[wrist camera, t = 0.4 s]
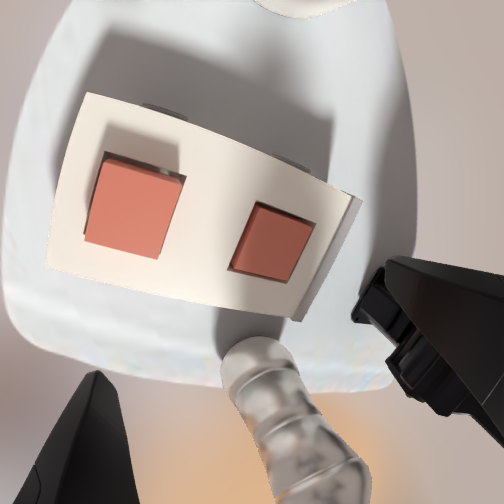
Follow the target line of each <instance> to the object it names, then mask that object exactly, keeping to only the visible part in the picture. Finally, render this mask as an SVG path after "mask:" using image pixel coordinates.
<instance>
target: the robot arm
mask: <svg viewBox="0 0 504 504" xmlns="http://www.w3.org/2000/svg"><path fill="white" fill-rule="evenodd" d="M351 320H352V321H353V322H354V323H362V324H372V325H374V326H375V327H376V328H377V329H378V330H379V331H380V332H381V333H382V334H383V335H384V336H385V337H386V338H387V339H388V340H389V341H390V342H391V343H392V344H393V345H394V346H395V347H397V348H396V349H395V350H394V352H393V353H392V354H391V355H390V357H388V358H387V359H386V360H385V362H386V364H387V365H388V368H389V370H390V371H391V373H392V374H393V376H394V377H395V378H396V380H397V381H398V383H399V384H400V386H401V387H402V389H403V390H404V392H405V394H406V396H407V397H409V398H414V399H416V400H417V401H420V402H422V403H423V402H426V403H427V404H428V405H429V406H430V407H431V408H432V409H433V410H434V411H435V413H436V414H438V415H441V416H445V417H448V416H450V415H451V414H457V415H468V416H471V417H472V418H473V419H475V420H476V421H477V422H478V423H479V424H480V425H481V426H482V427H483V428H484V429H485V430H486V431H487V432H488V433H489V434H490V435H491V436H492V437H493V438H494V439H495V440H496V441H497V442H498V443H499V444H500V445H501V446H502V447H503V448H504V276H503V275H499V274H493V273H488V272H483V271H478V270H473V269H468V268H463V267H458V266H452V265H447V264H442V263H437V262H431V261H425V260H421V259H415V258H410V257H404V256H394V257H392V258H390V259H388V260H387V262H386V266H385V267H381V268H380V269H379V270H378V272H377V274H376V276H375V277H374V279H373V281H372V283H371V285H370V287H369V288H368V290H367V292H366V294H365V295H364V297H363V299H362V301H361V302H360V304H359V306H358V307H357V309H356V311H355V312H354V314H353V316H352V318H351ZM13 504H140V502H139V498H138V493H137V489H136V485H135V480H134V475H133V469H132V464H131V458H130V452H129V445H128V441H127V435H126V430H125V426H124V422H123V418H122V413H121V408H120V404H119V398H118V394H117V391H116V389H115V387H114V386H113V384H112V383H111V382H110V381H109V380H108V379H107V377H106V376H105V375H104V374H103V373H102V372H101V371H99V370H96V371H92V372H89V373H87V374H86V375H85V377H84V379H83V380H82V381H81V383H80V385H79V386H78V388H77V389H76V391H75V393H74V394H73V396H72V398H71V399H70V401H69V403H68V404H67V406H66V408H65V409H64V411H63V412H62V414H61V416H60V418H59V419H58V421H57V423H56V425H55V426H54V428H53V430H52V431H51V433H50V435H49V437H48V439H47V440H46V442H45V444H44V446H43V448H42V450H41V452H40V453H39V455H38V457H37V459H36V461H35V465H33V467H32V469H31V471H30V473H29V475H28V477H27V479H26V481H25V482H24V484H23V487H22V488H21V490H20V492H19V493H18V495H17V497H16V499H15V501H14V502H13Z"/></svg>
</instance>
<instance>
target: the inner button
mask: <svg viewBox="0 0 504 504" xmlns="http://www.w3.org/2000/svg"><path fill="white" fill-rule="evenodd" d="M311 230H312V227H311V226H309V225H308V224H306V223H305V222H303V221H302V220H300V219H299V218H297V217H294V216H292V215H289V214H286V213H284V212H281V211H279V210H276V209H273V208H271V207H268V206H265V205H262V204H260V203H257V202H255V204H254V206H253V209H252V211H251V214H250V216H249V218H248V221H247V223H246V225H245V228H244V230H243V232H242V235H241V237H240V239H239V242H238V244H237V247H236V249H235V251H234V254H233V256H232V258H231V261H230V262H231V264H232V266H233V267H234V269H238V270H242V271H246V272H251V273H255V274H259V275H263V276H268V277H272V278H276V279H281V280H285V281H287V280H288V278H289V276H290V274H291V271H292V269H293V267H294V265H295V263H296V261H297V259H298V257H299V255H300V253H301V251H302V249H303V247H304V245H305V243H306V241H307V239H308V236H309V234H310V232H311Z"/></svg>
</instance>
